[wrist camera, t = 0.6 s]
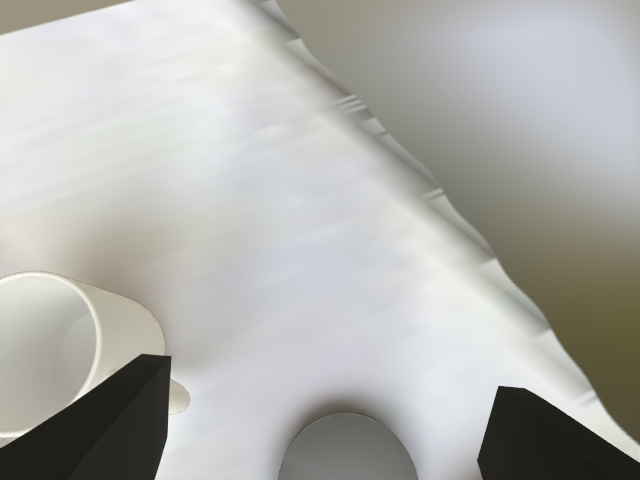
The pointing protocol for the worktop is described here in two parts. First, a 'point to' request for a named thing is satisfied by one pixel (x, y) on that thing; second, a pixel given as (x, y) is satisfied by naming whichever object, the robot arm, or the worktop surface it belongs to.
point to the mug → (66, 345)
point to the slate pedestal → (346, 451)
